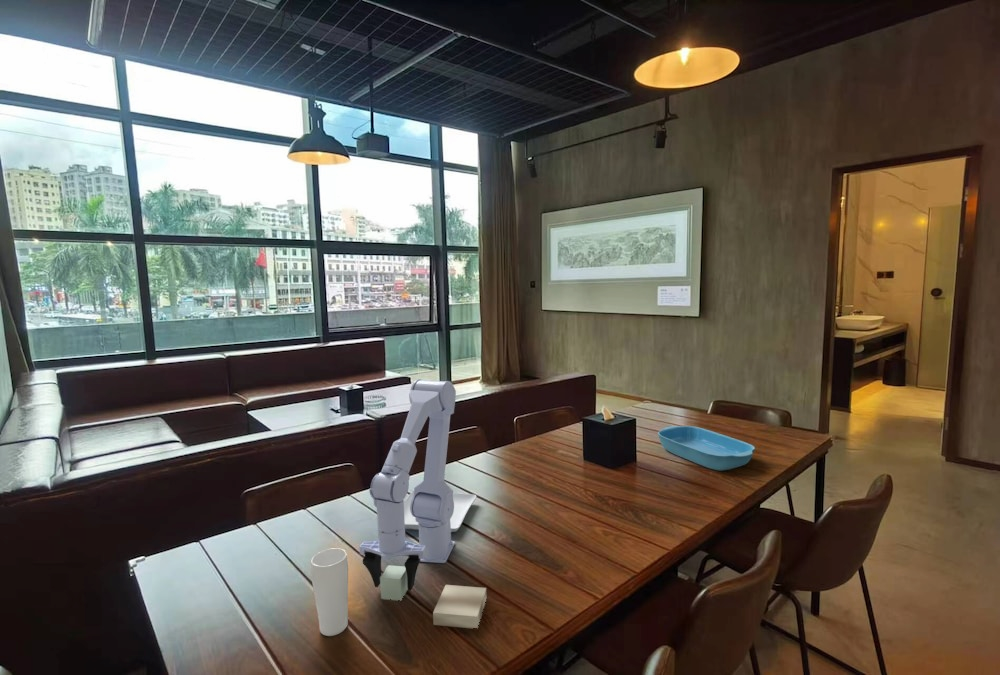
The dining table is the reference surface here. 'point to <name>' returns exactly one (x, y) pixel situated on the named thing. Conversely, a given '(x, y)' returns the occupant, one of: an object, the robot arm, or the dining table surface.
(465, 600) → the birch base
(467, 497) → the salad plate
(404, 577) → the sage block
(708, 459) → the casserole dish
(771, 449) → the dining table surface
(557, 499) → the dining table surface
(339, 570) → the drinking glass
